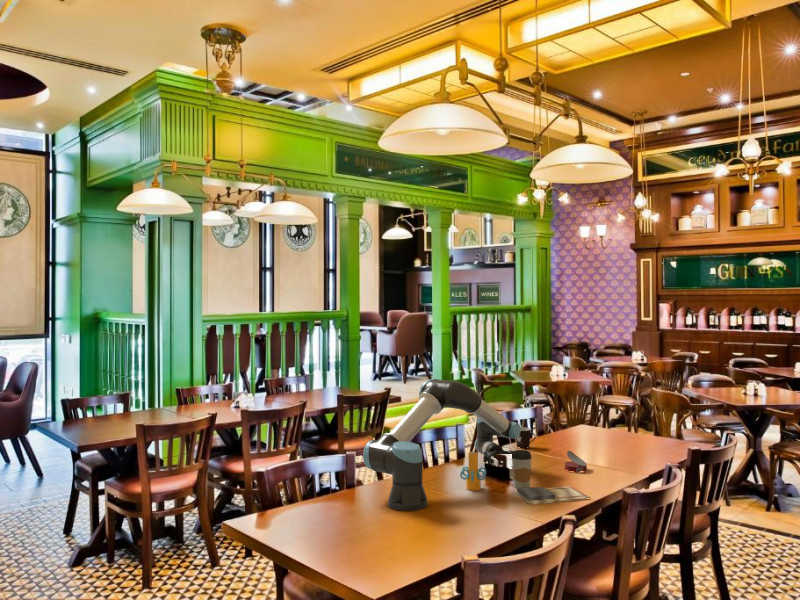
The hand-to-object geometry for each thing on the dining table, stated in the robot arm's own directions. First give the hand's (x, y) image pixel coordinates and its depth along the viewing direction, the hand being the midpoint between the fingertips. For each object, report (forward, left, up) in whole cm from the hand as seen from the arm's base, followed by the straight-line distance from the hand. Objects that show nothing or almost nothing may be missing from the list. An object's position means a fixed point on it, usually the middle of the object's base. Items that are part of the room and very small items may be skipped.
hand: (512, 462), depth 278 cm
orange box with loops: (-20, -6, -9) cm, 23 cm away
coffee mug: (+33, +57, -9) cm, 66 cm away
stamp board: (+6, -24, -8) cm, 26 cm away
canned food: (+36, +9, -9) cm, 38 cm away
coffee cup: (0, -10, -9) cm, 13 cm away
